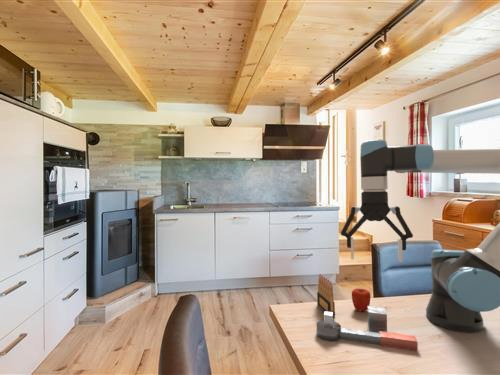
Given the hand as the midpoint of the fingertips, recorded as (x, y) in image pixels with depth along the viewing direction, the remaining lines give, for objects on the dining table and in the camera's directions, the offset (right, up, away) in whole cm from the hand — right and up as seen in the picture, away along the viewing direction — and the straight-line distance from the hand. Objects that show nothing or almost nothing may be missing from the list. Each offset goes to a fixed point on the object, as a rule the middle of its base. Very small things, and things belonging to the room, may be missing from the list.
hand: (375, 259), depth 88 cm
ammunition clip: (-12, -22, +14) cm, 28 cm away
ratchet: (-6, -22, -6) cm, 23 cm away
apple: (+1, -22, +14) cm, 26 cm away
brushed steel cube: (0, -22, 0) cm, 22 cm away
